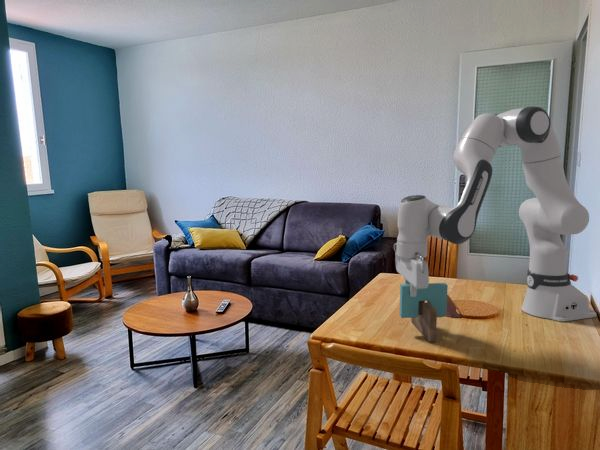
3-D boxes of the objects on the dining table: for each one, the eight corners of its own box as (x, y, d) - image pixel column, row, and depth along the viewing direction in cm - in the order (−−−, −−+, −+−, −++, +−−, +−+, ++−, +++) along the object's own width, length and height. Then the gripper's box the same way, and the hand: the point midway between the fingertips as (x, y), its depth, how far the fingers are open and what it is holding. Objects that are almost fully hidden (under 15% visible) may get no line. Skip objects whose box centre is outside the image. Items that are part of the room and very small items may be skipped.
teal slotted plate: (443, 313, 133) (444, 282, 132) (446, 316, 131) (447, 284, 130) (399, 315, 132) (400, 284, 131) (401, 318, 130) (402, 286, 129)
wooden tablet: (463, 320, 143) (463, 315, 143) (431, 318, 145) (432, 313, 144) (449, 294, 169) (449, 290, 169) (423, 293, 171) (423, 289, 170)
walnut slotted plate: (417, 321, 140) (418, 292, 139) (435, 342, 125) (436, 309, 123) (411, 322, 140) (412, 292, 139) (429, 342, 125) (430, 309, 123)
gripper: (435, 257, 118) (433, 305, 120) (411, 243, 138) (410, 284, 140) (412, 258, 118) (411, 306, 120) (392, 243, 138) (391, 285, 140)
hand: (410, 294), depth 130 cm, fingers closed on teal slotted plate, 2 cm apart
